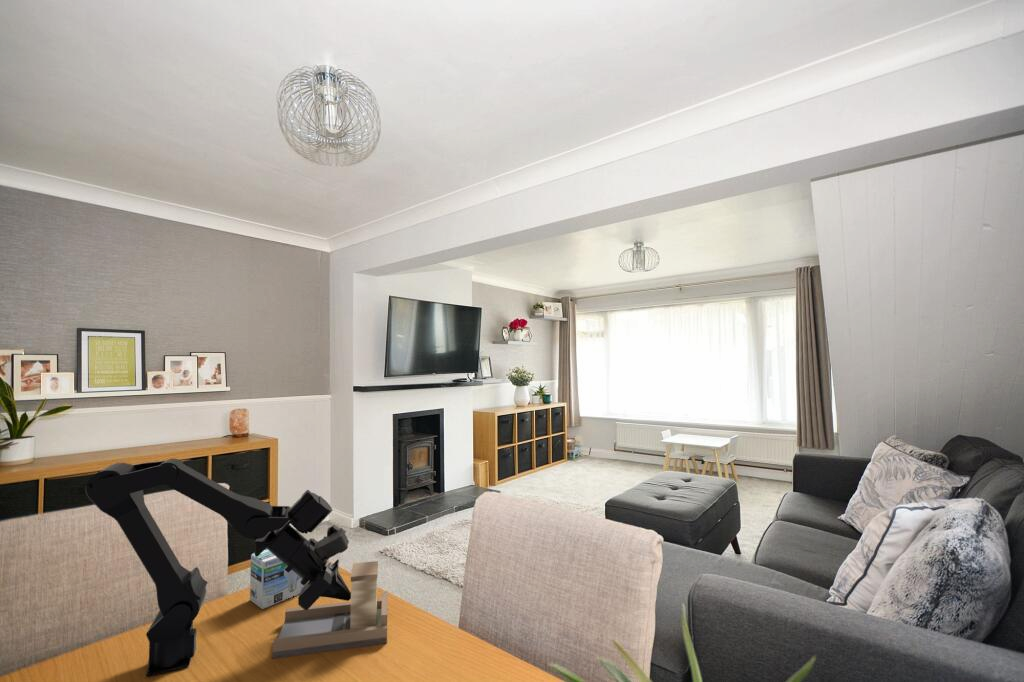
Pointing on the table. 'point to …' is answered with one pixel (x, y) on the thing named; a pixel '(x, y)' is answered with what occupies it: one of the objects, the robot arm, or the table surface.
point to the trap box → (327, 629)
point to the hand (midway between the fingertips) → (350, 598)
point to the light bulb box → (271, 580)
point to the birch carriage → (363, 594)
